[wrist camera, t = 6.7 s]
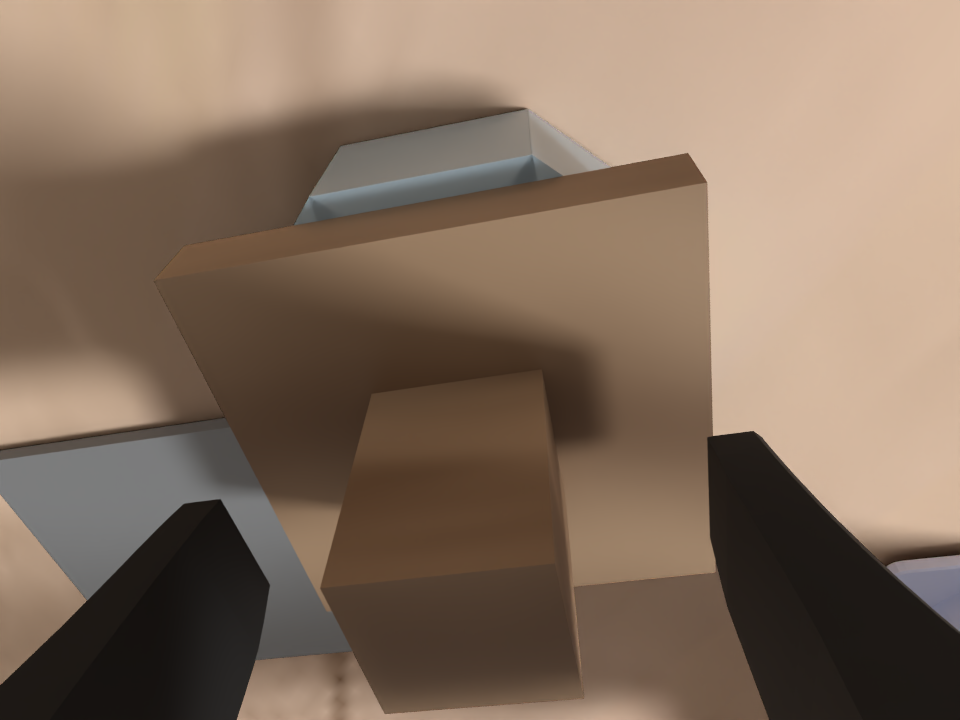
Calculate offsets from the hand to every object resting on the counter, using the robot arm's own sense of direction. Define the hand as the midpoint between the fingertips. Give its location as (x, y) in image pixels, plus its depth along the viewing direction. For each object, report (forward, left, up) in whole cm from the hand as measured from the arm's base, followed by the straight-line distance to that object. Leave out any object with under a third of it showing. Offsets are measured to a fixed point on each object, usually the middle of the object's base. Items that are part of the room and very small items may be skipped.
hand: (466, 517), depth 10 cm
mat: (-6, +9, -6) cm, 12 cm away
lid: (0, 0, -3) cm, 3 cm away
